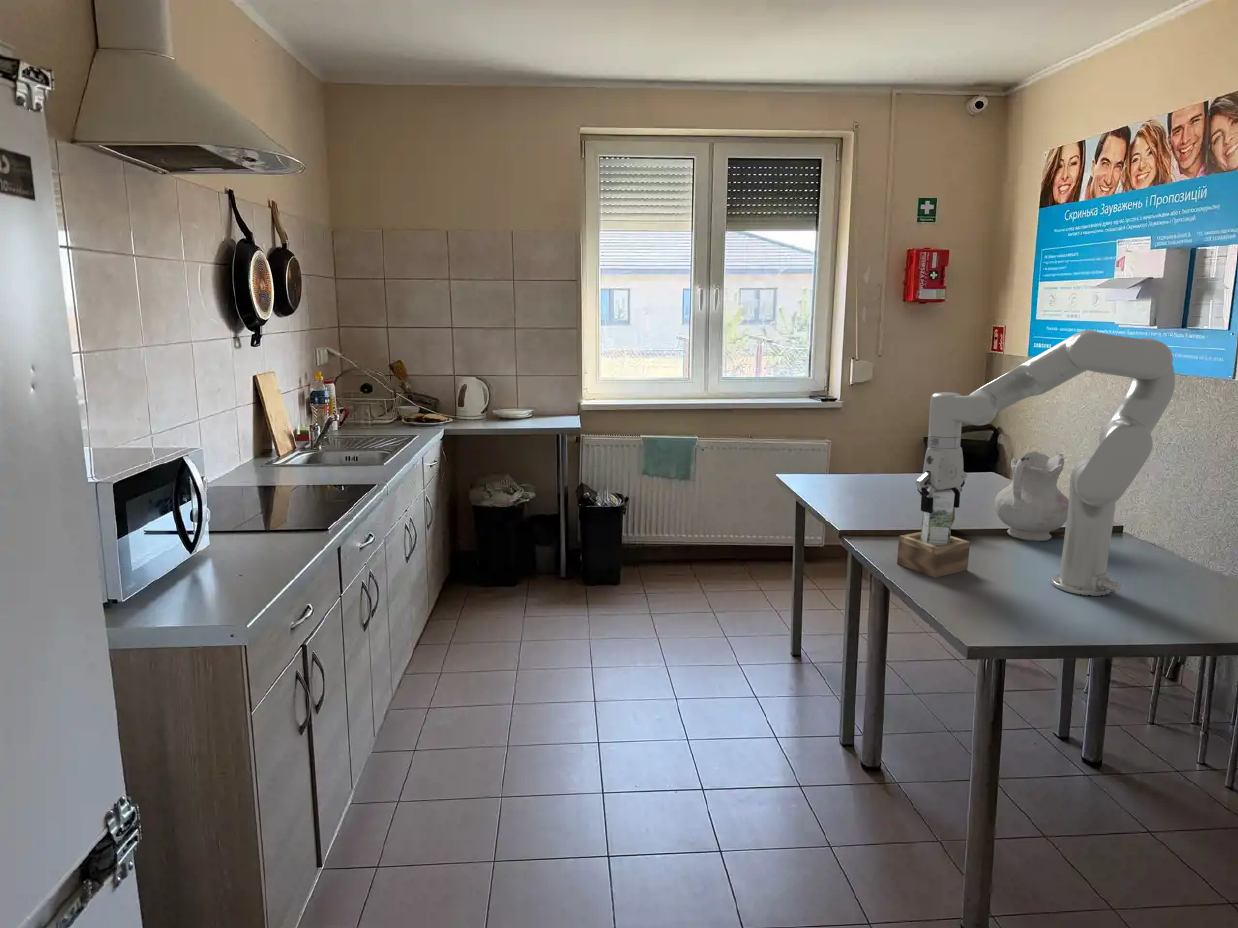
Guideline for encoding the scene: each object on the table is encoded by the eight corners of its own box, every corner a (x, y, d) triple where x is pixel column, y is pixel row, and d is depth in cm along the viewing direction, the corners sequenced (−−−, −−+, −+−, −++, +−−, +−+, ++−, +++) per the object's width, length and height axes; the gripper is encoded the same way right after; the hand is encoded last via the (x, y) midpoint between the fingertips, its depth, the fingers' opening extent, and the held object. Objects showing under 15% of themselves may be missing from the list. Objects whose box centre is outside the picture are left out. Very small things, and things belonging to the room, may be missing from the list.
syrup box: (942, 540, 212) (948, 486, 209) (949, 547, 206) (955, 491, 203) (920, 539, 212) (925, 485, 209) (926, 546, 206) (931, 491, 203)
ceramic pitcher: (1054, 555, 224) (1073, 467, 218) (979, 536, 235) (996, 452, 229) (1068, 537, 241) (1086, 455, 235) (997, 520, 252) (1013, 442, 246)
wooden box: (967, 570, 208) (970, 541, 206) (934, 577, 202) (937, 548, 201) (929, 556, 218) (931, 529, 217) (896, 563, 213) (899, 535, 211)
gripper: (932, 448, 196) (928, 517, 200) (980, 441, 204) (975, 507, 208) (907, 443, 203) (904, 510, 206) (955, 437, 211) (951, 501, 214)
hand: (940, 509), depth 207 cm, fingers open, 9 cm apart
